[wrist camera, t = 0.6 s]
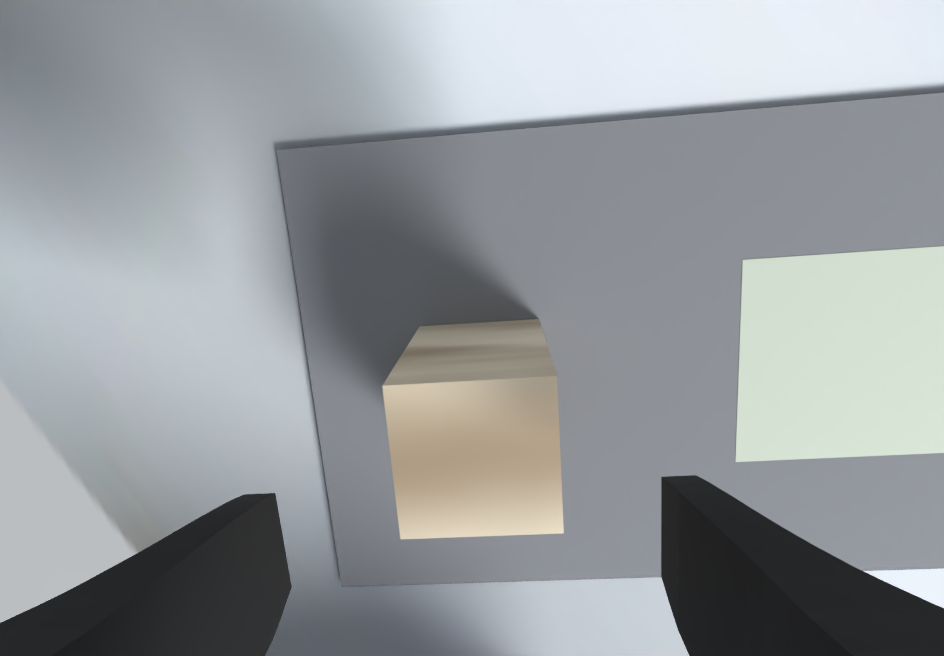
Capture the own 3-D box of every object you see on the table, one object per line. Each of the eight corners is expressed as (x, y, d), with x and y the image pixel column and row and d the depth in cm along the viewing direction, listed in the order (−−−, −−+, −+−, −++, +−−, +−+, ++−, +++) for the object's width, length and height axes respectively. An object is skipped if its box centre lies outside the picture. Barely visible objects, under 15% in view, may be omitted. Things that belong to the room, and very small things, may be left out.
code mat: (1000, 561, 20) (1008, 566, 19) (344, 581, 21) (341, 587, 21) (1077, 81, 16) (1088, 79, 16) (279, 150, 18) (276, 149, 17)
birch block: (544, 430, 19) (563, 533, 13) (430, 436, 19) (400, 539, 14) (539, 318, 18) (557, 375, 12) (419, 326, 19) (382, 385, 13)
